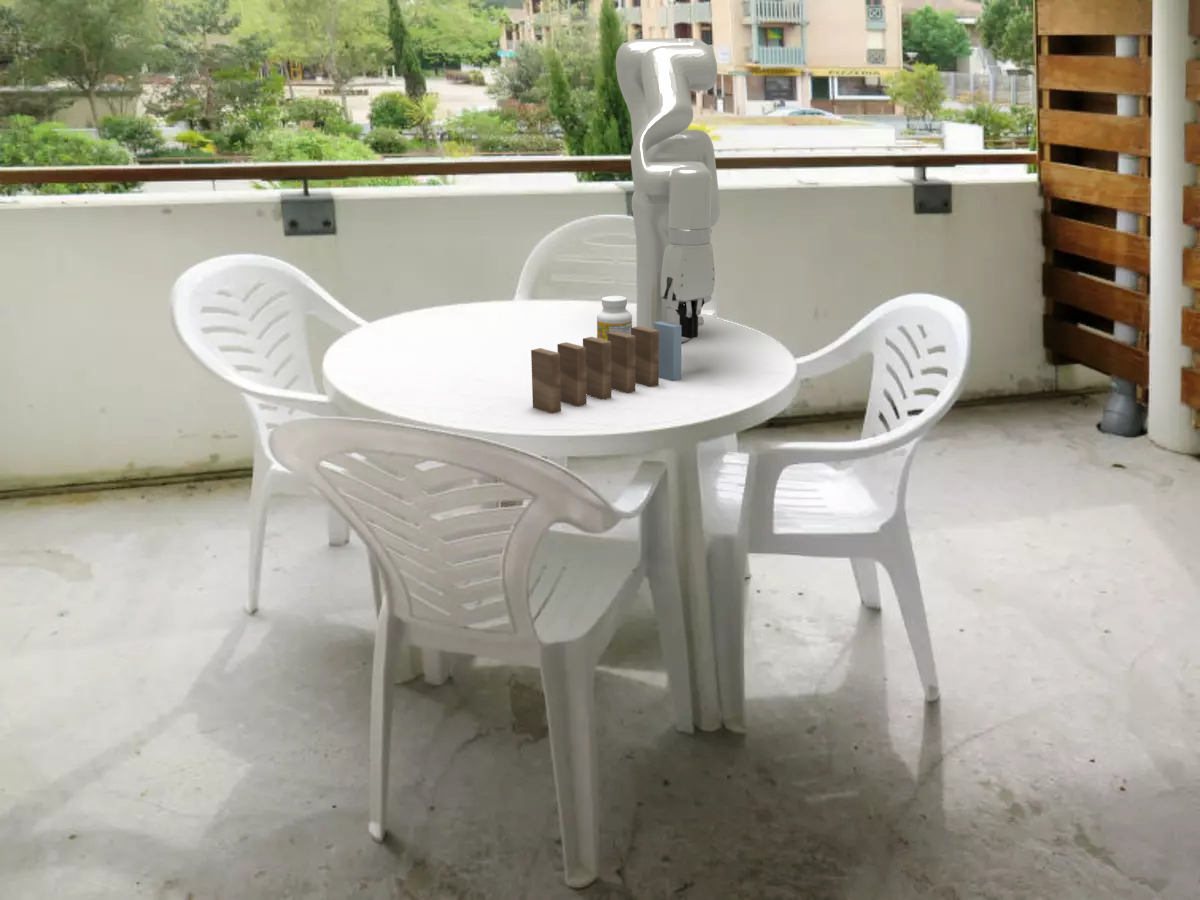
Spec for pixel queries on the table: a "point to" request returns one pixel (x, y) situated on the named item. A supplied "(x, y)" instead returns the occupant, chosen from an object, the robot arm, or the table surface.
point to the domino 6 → (669, 350)
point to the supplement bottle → (613, 317)
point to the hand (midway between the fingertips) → (688, 336)
